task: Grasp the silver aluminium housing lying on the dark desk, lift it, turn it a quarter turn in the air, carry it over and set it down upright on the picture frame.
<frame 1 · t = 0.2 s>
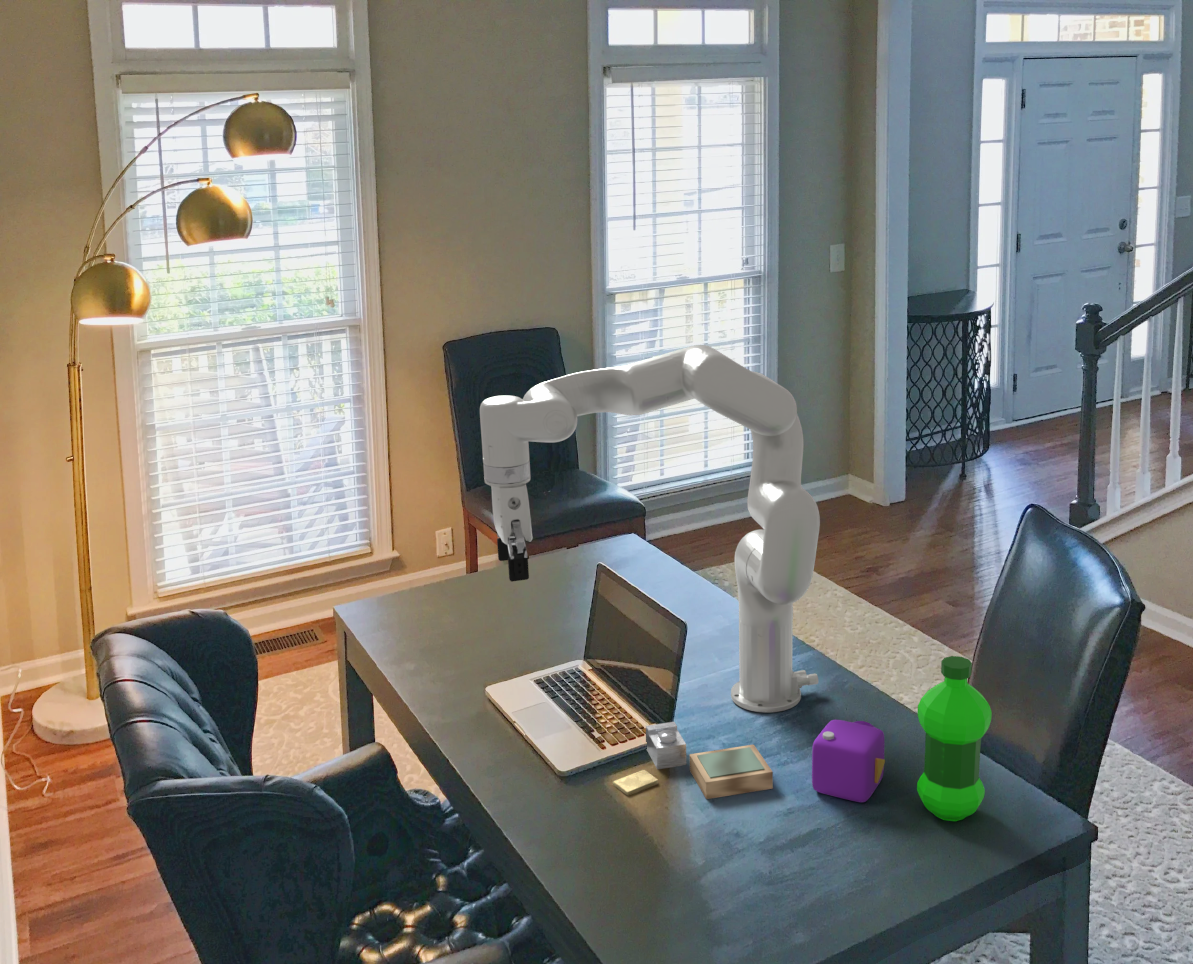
hand: (513, 569, 213), 31 cm above the table, fingers open, 9 cm apart
housing: (666, 757, 213), on the table
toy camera: (850, 782, 203), on the table
plastic bottle: (949, 812, 194), on the table
cover plate: (635, 787, 205), on the table
picture frame: (730, 779, 205), on the table
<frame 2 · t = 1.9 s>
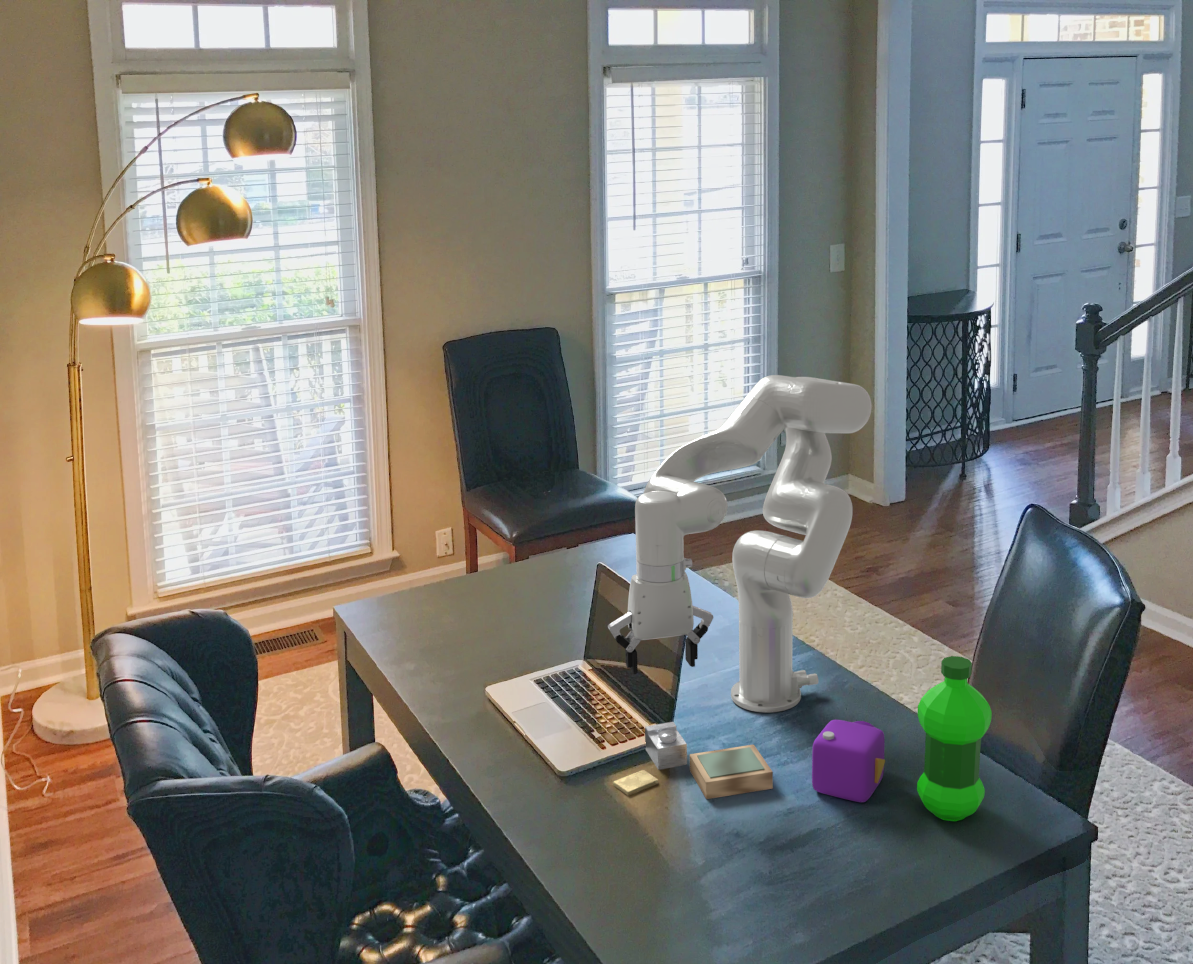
hand: (661, 667, 208), 17 cm above the table, fingers open, 9 cm apart
nothing on the table moved.
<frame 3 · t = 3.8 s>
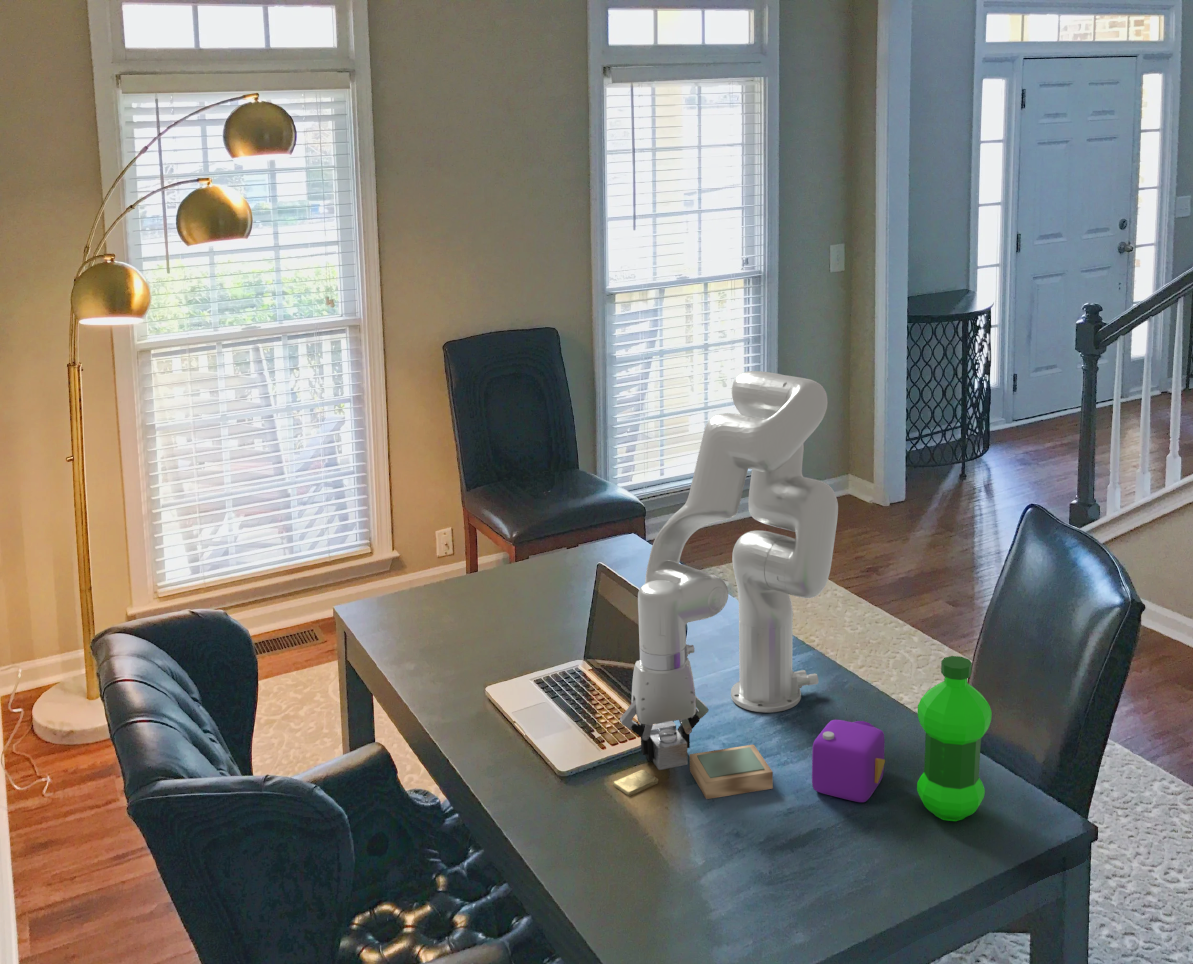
hand: (665, 753, 213), 1 cm above the table, fingers closed on housing, 5 cm apart
housing: (666, 757, 213), on the table, touching gripper
everything else where it was.
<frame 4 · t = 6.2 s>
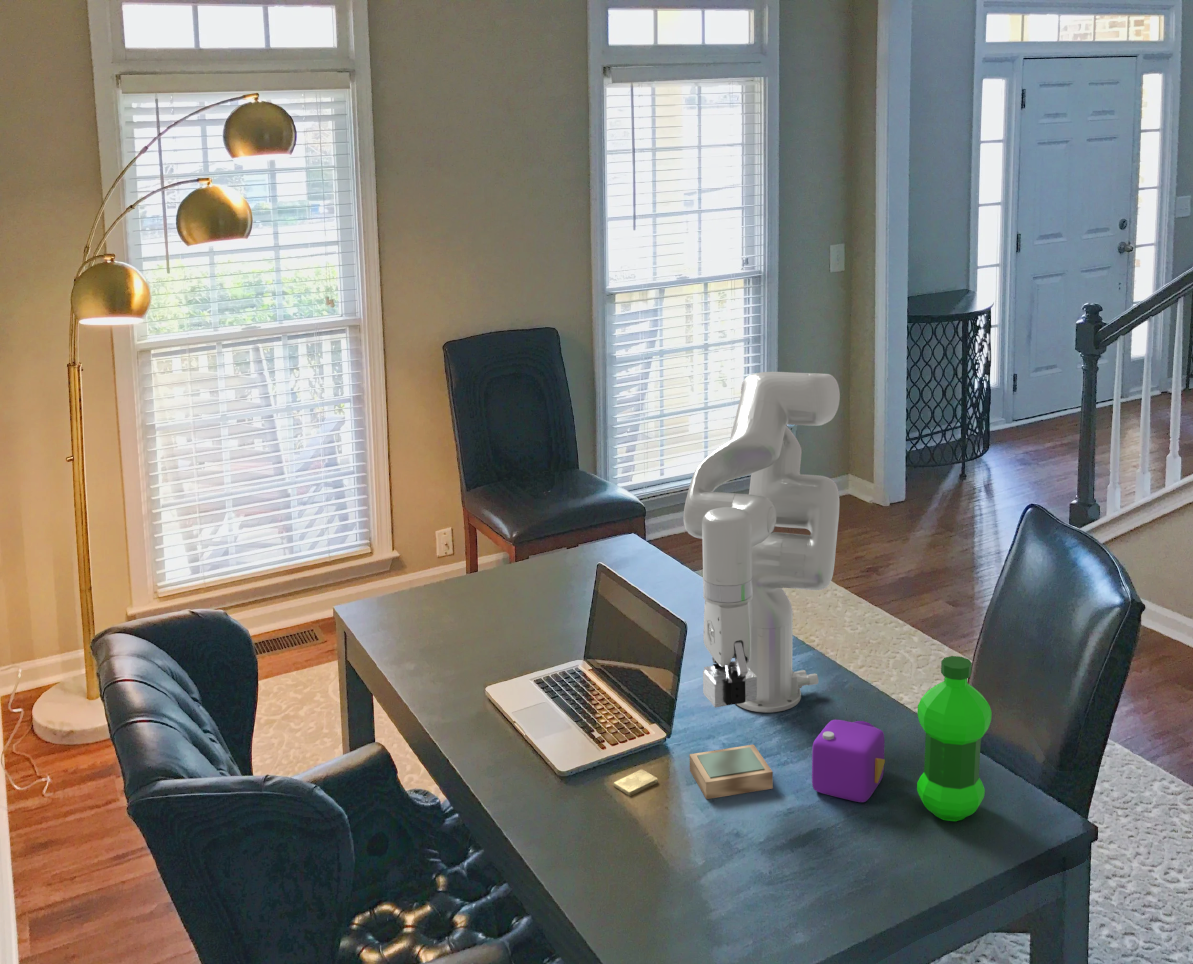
hand: (729, 693, 201), 15 cm above the table, fingers closed on housing, 5 cm apart
housing: (729, 696, 201), point 15 cm above the table, touching gripper
everything else where it was.
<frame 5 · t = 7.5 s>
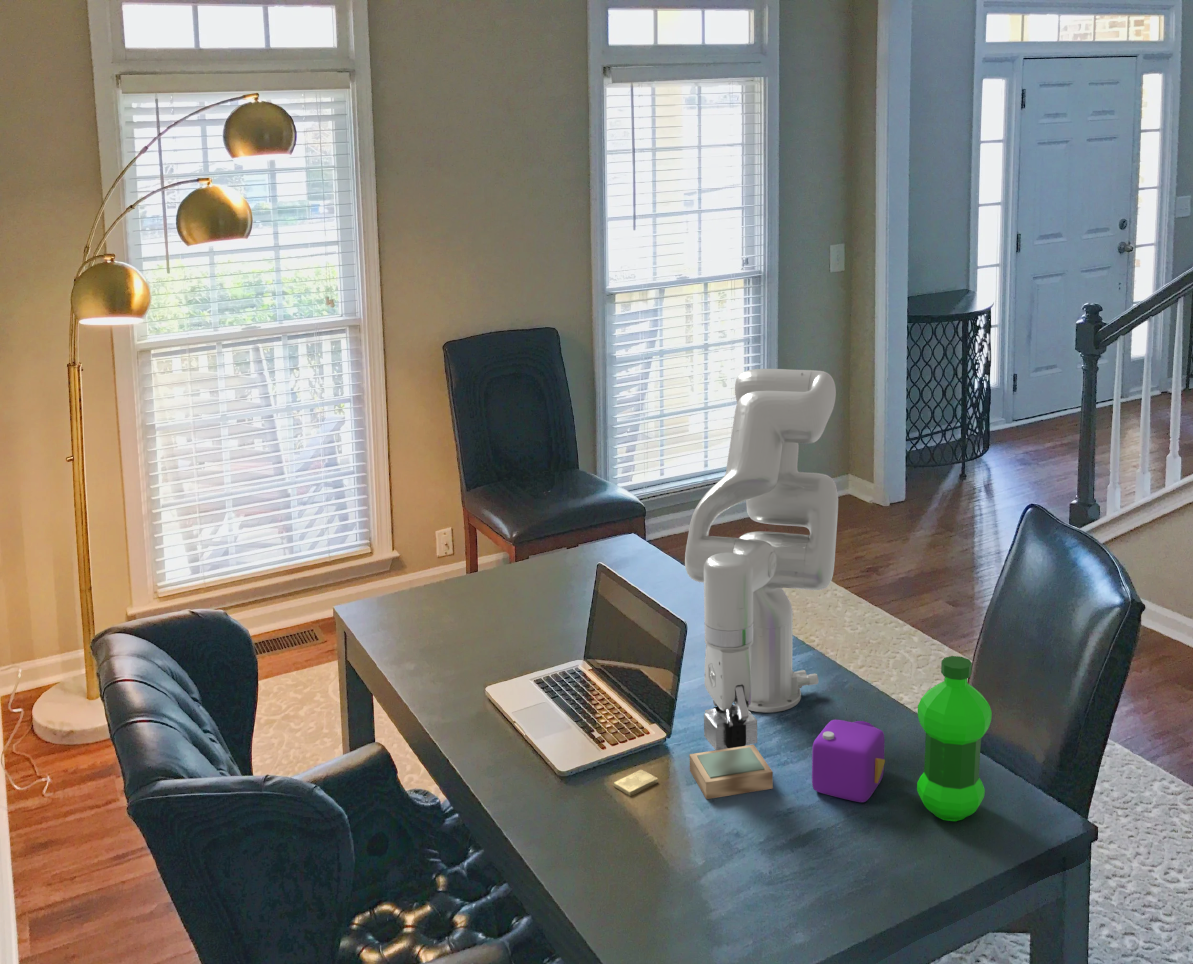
hand: (729, 736, 203), 8 cm above the table, fingers closed on housing, 5 cm apart
housing: (730, 739, 203), point 7 cm above the table, touching gripper
everything else where it was.
when the fingers open (5 cm above the table, at t = 8.5 s): housing stays where it is, resting on picture frame.
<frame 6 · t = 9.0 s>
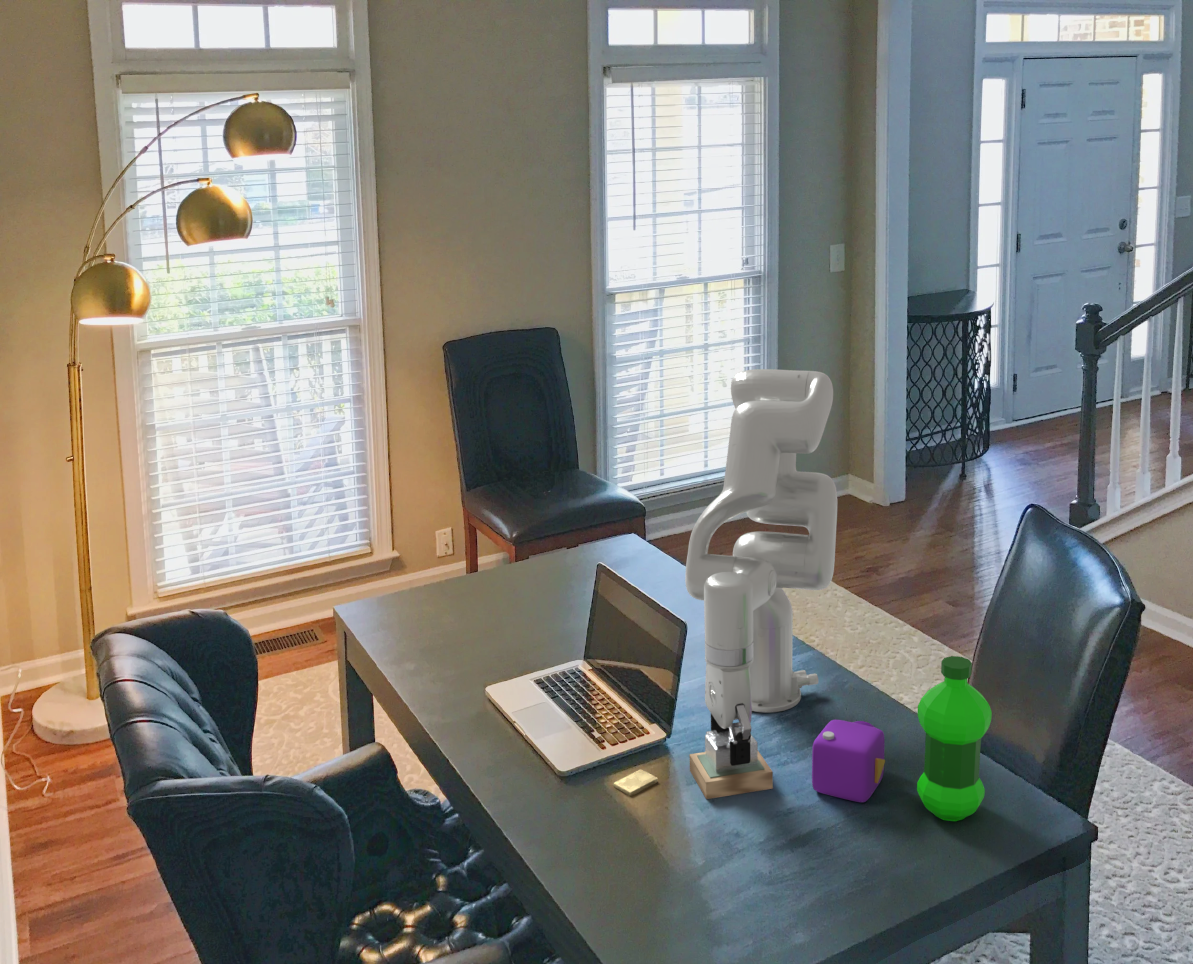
hand: (730, 748, 203), 6 cm above the table, fingers open, 9 cm apart
housing: (731, 761, 204), point 3 cm above the table, touching picture frame
everything else where it was.
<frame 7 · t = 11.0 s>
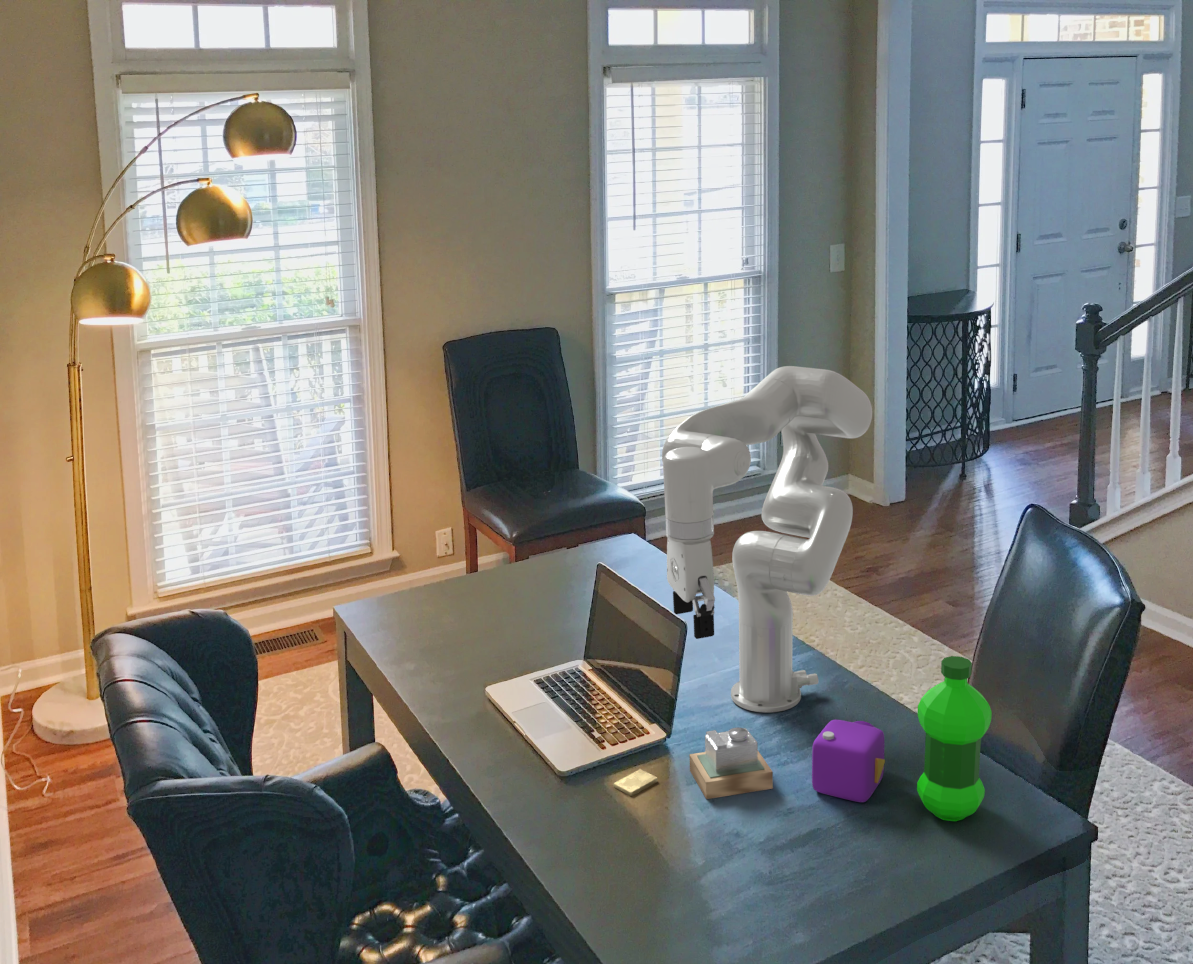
hand: (693, 624, 206), 24 cm above the table, fingers open, 9 cm apart
nothing on the table moved.
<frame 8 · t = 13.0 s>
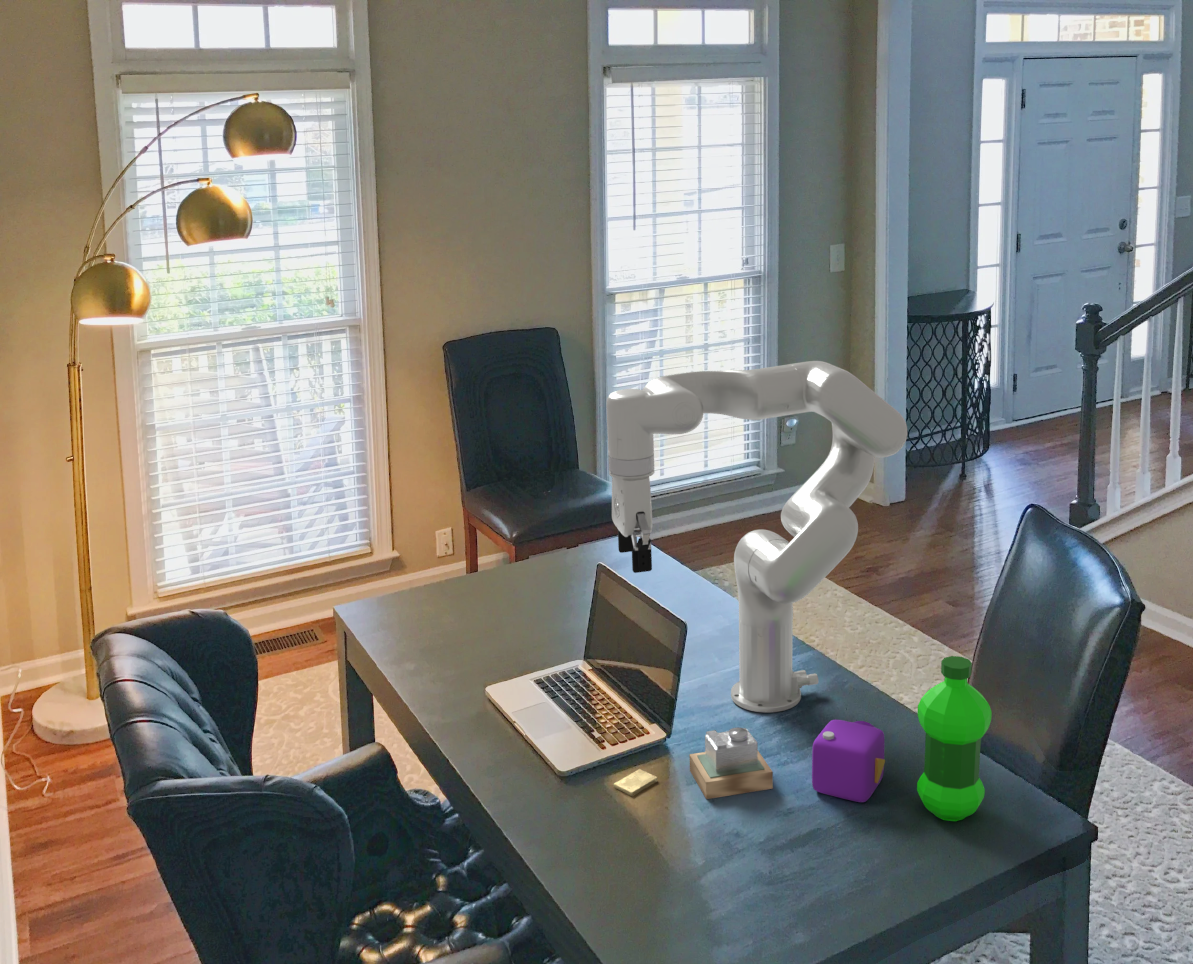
hand: (634, 561, 216), 30 cm above the table, fingers open, 9 cm apart
nothing on the table moved.
at the end: housing inside the target area on the picture frame (0.3 cm from its centre), point 3.2 cm above the picture frame's base; housing tilted 0°; the gripper is holding nothing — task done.
